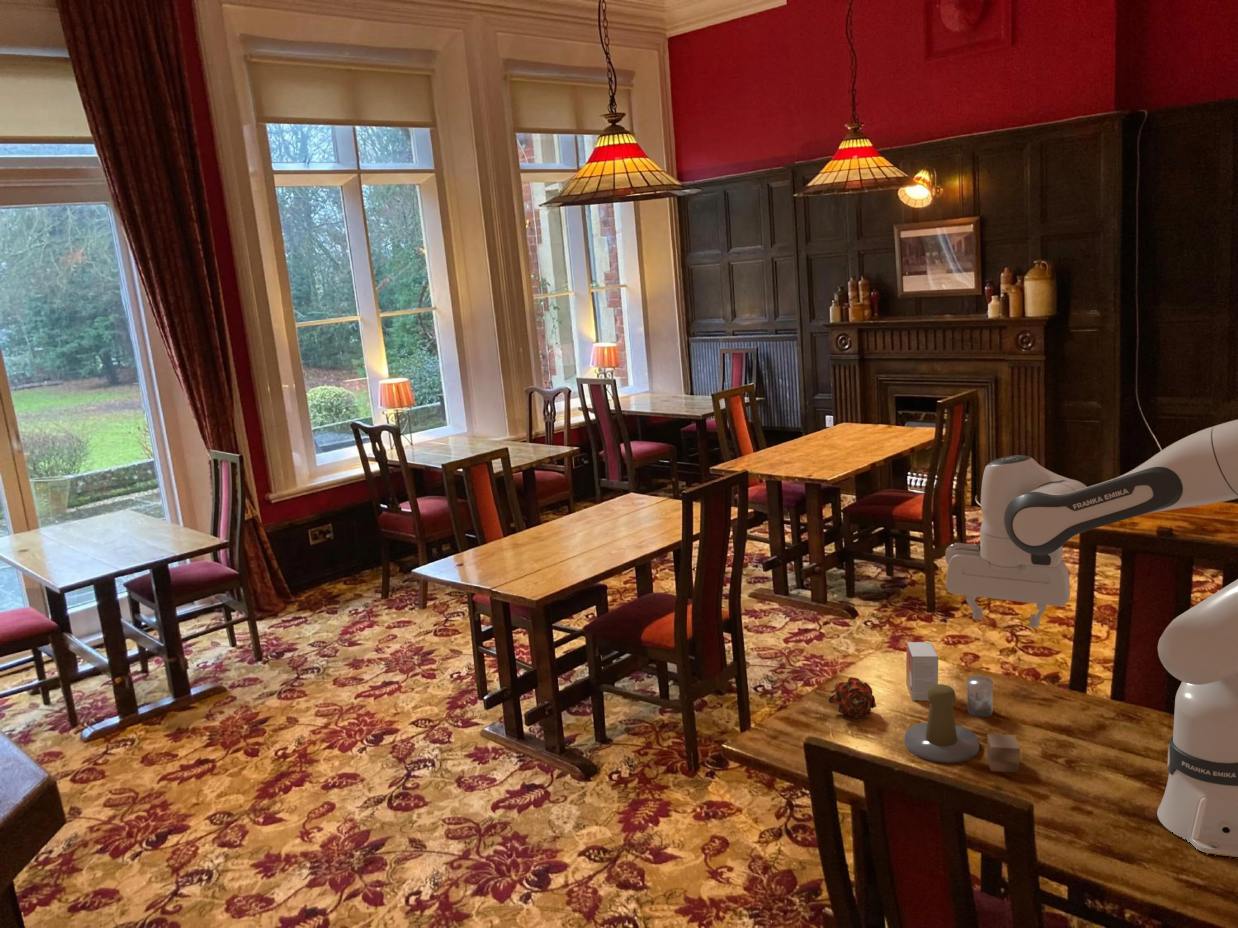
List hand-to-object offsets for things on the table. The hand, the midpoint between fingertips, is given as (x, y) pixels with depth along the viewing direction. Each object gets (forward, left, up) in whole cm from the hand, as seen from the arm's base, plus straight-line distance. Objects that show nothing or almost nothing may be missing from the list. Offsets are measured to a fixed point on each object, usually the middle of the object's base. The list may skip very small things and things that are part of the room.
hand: (1005, 621), depth 171 cm
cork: (+13, -9, -30) cm, 34 cm away
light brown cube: (+1, -6, -31) cm, 32 cm away
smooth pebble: (+13, -9, -31) cm, 35 cm away
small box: (+22, -30, -31) cm, 49 cm away
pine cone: (+33, -15, -31) cm, 48 cm away
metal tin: (+9, -26, -31) cm, 41 cm away
